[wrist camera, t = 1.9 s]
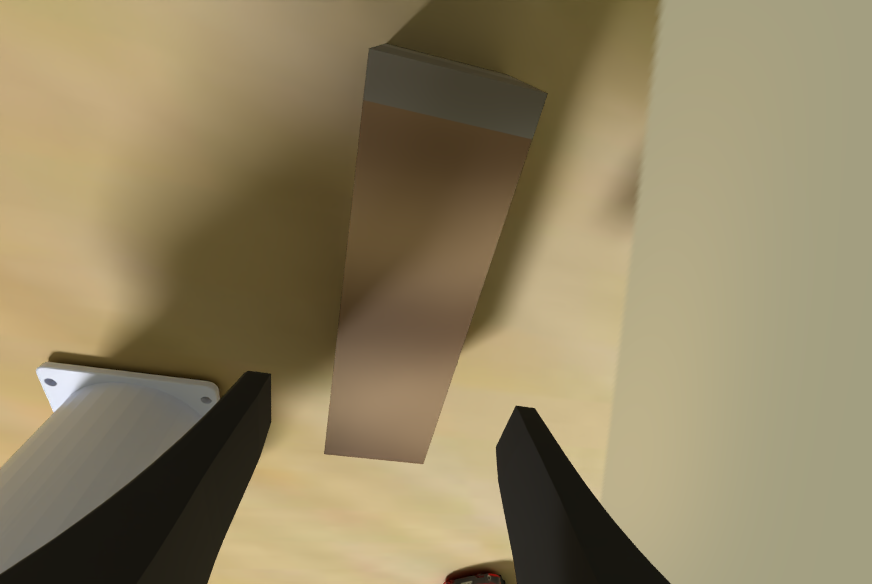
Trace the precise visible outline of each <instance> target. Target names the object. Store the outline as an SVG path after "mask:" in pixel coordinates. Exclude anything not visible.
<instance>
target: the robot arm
mask: <svg viewBox="0 0 872 584" xmlns="http://www.w3.org/2000/svg"><path fill="white" fill-rule="evenodd" d="M36 373H37V376H38V378H39V380H40V382H41V385H42V387H43V389H44V391H45V394H46V396H47V398H48V400H49V403H50V405H51V407H52V409H53V412H54V413H53V414H52V415H51V416H50V417H49V418H48V419H47V420H46V421H45V422H44V423H43V424H42V425H41V426H40V427H39V428H38V430H37V431H36V432H35V433H34V434H33V435H32V436H31V437H30V438H29V439H28V440H27V441H26V442H25V443H24V444H23V445H22V446H21V447H20V448H19V449H18V450H17V451H16V452H15V453H14V454H13V455H12V456H11V457H10V458H9V460H8V461H7V462H6V463H5V464H4V465H3V466H2V467H1V468H0V584H207V583H208V580H209V577H210V574H211V571H212V569H213V566H214V563H215V560H216V557H217V555H218V552H219V550H220V547H221V545H222V542H223V540H224V538H225V535H226V533H227V531H228V529H229V526H230V524H231V522H232V520H233V517H234V515H235V513H236V511H237V508H238V506H239V504H240V502H241V499H242V497H243V495H244V492H245V490H246V488H247V486H248V483H249V481H250V479H251V477H252V474H253V472H254V470H255V467H256V465H257V463H258V460H259V458H260V455H261V452H262V449H263V446H264V443H265V440H266V437H267V433H268V430H269V427H270V424H271V374H268V373H261V372H253V371H247V372H245V373H244V374H243V375H242V376H241V377H240V378H239V379H238V381H237V382H236V383H235V384H234V385H233V386H232V387H231V388H230V389H229V390H228V392H227V393H226V394H225V395H224V396H223V397H222V398H221V399H220V396H219V389H218V386H217V385H216V384H214V383H212V382H209V381H202V380H194V379H186V378H178V377H169V376H161V375H153V374H145V373H137V372H129V371H120V370H112V369H104V368H96V367H88V366H79V365H71V364H63V363H55V362H45V363H42V364H41V365H40V366H39V367H38V368H37V369H36ZM496 457H497V471H498V482H499V488H500V493H501V498H502V504H503V509H504V514H505V519H506V524H507V529H508V534H509V539H510V545H511V550H512V555H513V560H514V566H515V572H516V579H517V584H670V583H669V581H668V580H667V579H666V578H664V576H663V575H662V574H661V573H660V572H659V571H658V570H657V569H656V568H655V567H654V566H653V565H652V564H651V563H650V562H649V561H648V559H647V558H646V557H645V556H644V555H643V554H642V553H641V552H640V551H639V550H638V548H637V547H636V546H635V545H634V544H633V543H632V541H631V540H630V539H629V538H628V537H627V536H626V534H625V533H624V532H623V531H622V530H621V529H620V528H619V526H618V525H617V524H616V523H615V522H614V520H613V519H612V518H611V517H610V515H609V514H608V513H607V512H606V510H605V509H604V508H603V506H602V505H601V504H600V502H599V501H598V500H597V499H596V497H595V496H594V495H593V493H592V492H591V491H590V489H589V488H588V487H587V485H586V484H585V482H584V481H583V480H582V478H581V477H580V475H579V474H578V472H577V471H576V470H575V468H574V467H573V465H572V464H571V462H570V461H569V459H568V458H567V457H566V455H565V454H564V452H563V451H562V449H561V448H560V446H559V444H558V443H557V441H556V440H555V438H554V437H553V435H552V434H551V432H550V431H549V429H548V428H547V426H546V425H545V423H544V422H543V420H542V418H541V417H540V415H539V414H538V412H537V411H536V409H535V408H529V407H522V406H516V407H515V409H514V411H513V413H512V415H511V417H510V419H509V421H508V423H507V425H506V427H505V429H504V431H503V433H502V436H501V438H500V440H499V442H498V444H497V446H496Z"/></svg>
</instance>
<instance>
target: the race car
mask: <svg viewBox="0 0 872 584" xmlns="http://www.w3.org/2000/svg"><path fill="white" fill-rule="evenodd" d="M443 584H505V581H504V580H503V579H502V578H501V575H499V576H498V575H496V574H491V573H487V574H484V575H483V574H481V573H480V575H479V574H477V576H469V577H464V578H460V579H456V580H453V579H452V580H451V581H450V580H449V581H448V582H444V583H443Z"/></svg>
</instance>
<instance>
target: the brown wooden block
mask: <svg viewBox="0 0 872 584" xmlns="http://www.w3.org/2000/svg"><path fill="white" fill-rule="evenodd" d="M546 97H547V93H545V92H543V91H541V90H539V89H537V88H535V87H533V86H530V85H528V84H526V83H524V82H522V81H520V80H518V79H515V78H513V77H511V76H509V75H507V74H503V73H499V72H495V71H491V70H488V69H484V68H480V67H476V66H472V65H468V64H464V63H460V62H456V61H452V60H448V59H445V58H441V57H437V56H433V55H429V54H425V53H421V52H417V51H413V50H409V49H406V48H402V47H398V46H394V45H390V44H383V45H379V46H376V47H372V48H369V53H368V62H367V71H366V80H365V89H364V98H363V107H362V116H361V125H360V134H359V143H358V152H357V161H356V170H355V179H354V188H353V197H352V206H351V215H350V225H349V234H348V243H347V252H346V261H345V270H344V279H343V288H342V297H341V306H340V315H339V324H338V333H337V342H336V351H335V360H334V369H333V378H332V387H331V396H330V405H329V414H328V423H327V432H326V441H325V451H324V454H328V455H338V456H348V457H358V458H368V459H378V460H388V461H398V462H408V463H418V464H423V463H424V460H425V457H426V454H427V451H428V448H429V445H430V442H431V440H432V437H433V434H434V431H435V428H436V425H437V422H438V419H439V416H440V413H441V410H442V407H443V404H444V401H445V398H446V395H447V392H448V389H449V386H450V383H451V380H452V377H453V374H454V371H455V368H456V365H457V362H458V359H459V356H460V353H461V350H462V347H463V344H464V341H465V338H466V335H467V332H468V329H469V326H470V323H471V320H472V317H473V315H474V312H475V309H476V306H477V303H478V300H479V297H480V294H481V291H482V288H483V285H484V282H485V279H486V276H487V273H488V270H489V267H490V264H491V261H492V258H493V255H494V252H495V249H496V246H497V243H498V240H499V237H500V234H501V231H502V228H503V225H504V222H505V219H506V216H507V213H508V210H509V207H510V204H511V201H512V198H513V195H514V192H515V190H516V187H517V184H518V181H519V178H520V175H521V172H522V169H523V166H524V163H525V160H526V157H527V154H528V151H529V148H530V145H531V142H532V139H533V136H534V133H535V130H536V127H537V124H538V121H539V118H540V115H541V112H542V109H543V106H544V103H545V100H546Z"/></svg>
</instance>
